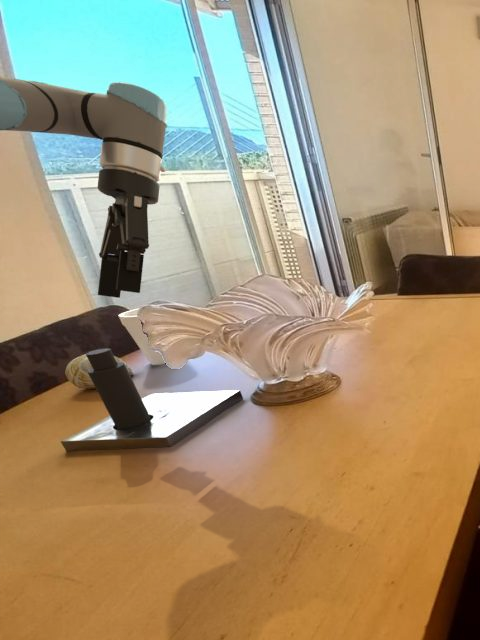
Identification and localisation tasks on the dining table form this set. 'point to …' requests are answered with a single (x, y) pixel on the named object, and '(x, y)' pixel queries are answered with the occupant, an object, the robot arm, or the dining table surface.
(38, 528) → the dining table surface
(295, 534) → the dining table surface
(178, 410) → the plate
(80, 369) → the seashell
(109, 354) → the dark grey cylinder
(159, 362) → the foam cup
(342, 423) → the dining table surface
